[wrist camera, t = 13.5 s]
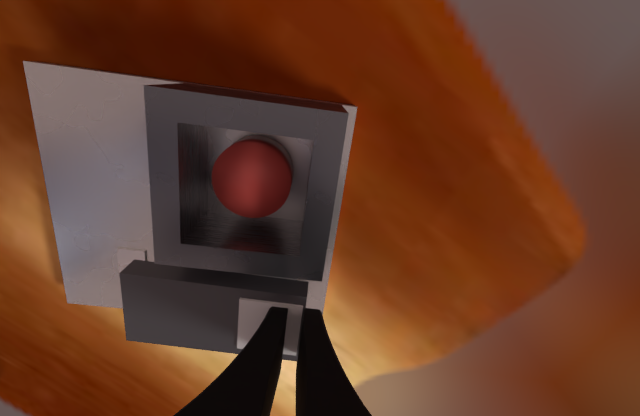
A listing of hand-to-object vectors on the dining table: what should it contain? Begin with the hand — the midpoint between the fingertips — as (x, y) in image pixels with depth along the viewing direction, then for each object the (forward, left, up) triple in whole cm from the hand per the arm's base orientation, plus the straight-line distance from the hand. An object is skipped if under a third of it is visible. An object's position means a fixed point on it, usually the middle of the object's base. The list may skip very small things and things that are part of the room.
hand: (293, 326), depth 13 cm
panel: (+3, +5, -3) cm, 6 cm away
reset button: (+5, +2, -2) cm, 6 cm away
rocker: (0, +3, -1) cm, 3 cm away
